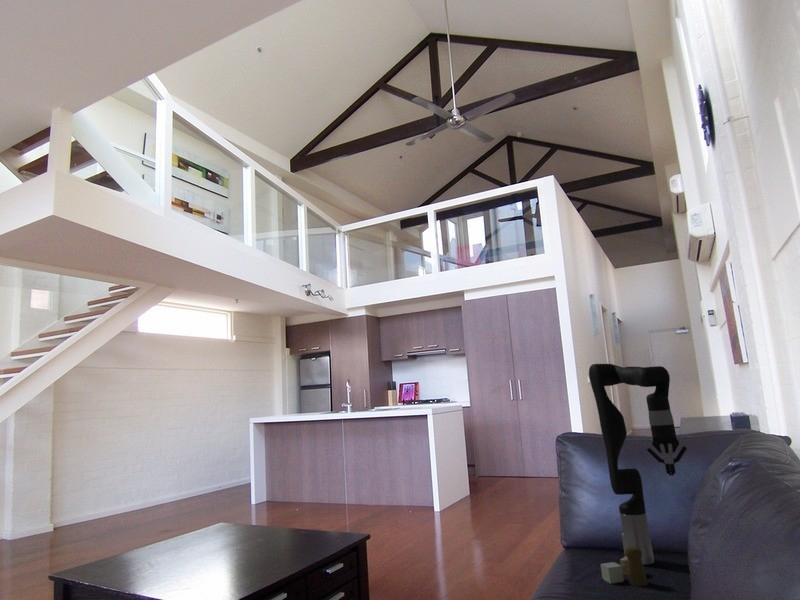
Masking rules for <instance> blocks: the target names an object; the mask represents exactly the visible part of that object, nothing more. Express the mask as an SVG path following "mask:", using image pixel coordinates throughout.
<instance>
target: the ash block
mask: <svg viewBox="0 0 800 600" xmlns="http://www.w3.org/2000/svg"><path fill="white" fill-rule="evenodd" d="M619 563H620V565H621V566H622V571H623V574H625V575H624V576H627V575H628V558H627V557H626V556H625V555H624V557H622V558H621V559H619Z"/></svg>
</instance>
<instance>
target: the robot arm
mask: <svg viewBox="0 0 800 600" xmlns="http://www.w3.org/2000/svg"><path fill="white" fill-rule="evenodd" d="M588 370H589V371H588V376H589V377H588V378H589V381H590V386H591V389H592V392H593V397H594V399H595V404H596V407H597V413H598V419H599V425H600V431H601V435H602V439H603V442H604V443H603V444H604V448H605V452H606V457H607V458H606V460H607V467H608V472H609V473H608V474H609V481H610V486H611V488H612V491H613V494H615V495H616V496H617V495H620V496H621V495H624V496H625V495H631V498H629V499H628V500H627V501H625V502H622V503H621V504H620V505H618V510H619V516H620V521H621V528H622V532H621V539H622V541H621V542H622V546H623V547H622V548H623V551H624V552H623V553H624V557H625V556H626V555H625V549H626V548H628V547H637V548H639V549H640V550H641V552H642V557H641V561H642V564H643V566H644V565H645V566H646V565H648V566H649V565H652V564H655V558H654V552H653V545H652V540H651V535H650V534H651V533H650V529H649V522H648V517H647V513H646V504H645V498H644V497H645V496H644V491H643V482H642V476H641V473H640V471H639V470H638V469H637V468H619V466H618V465H619V462H618V461H619V456H620V453H621V450H622V449H623V446H624V443H625V441H626V439H627V435H628V434H627V427H626V422H625V418H624V416H623V414H622V412H621V411H620V409H618V407H617V406H616V405H615V404H614V403H613V402H612V400H611V399H610V398H609V396H608V393H607V389H606V387H612V386H617V385H619V384H626V385H628V386H639V387H640V388H653V387H655V389H654V392H653V393H649V394H648V395H647V396H646V397H645V398H646V405H647V410H648V419H649V420H648V421H649V425H650V426H649V427H650V430H651V437H652V442H651V445H650V446H648V447H647V449H646V450H647V452H648V453H649V454H650V455H651V456H652V457H653V458H654V459H655V460H657V462H658V463H660V464H664V466H665V472H666V474H667V475H668V476H673V477H674V475H675V474H676V469H675V468H676V467H675V464H676V463H679V462H680V461H681V459H682V458H683V455H684V454H685V452H686V451H687V446H685V445H683V444H681V443H680V441H679V440H678V438H677V432H676V428H675V421H674V417H673V414H672V411H671V406H670V402H669V392H670V383H671V380H670V379H671V377H670V373H669V372H668V370H667V368H665V367H664V366H661V365H658V366H646V367H643V366H619V365H616V364H612V363H593V364H591V365H590V366H589V368H588ZM677 449H678V451H679V452H678V453H677V455H676V457H675V458H674V453H675V452H676V450H677ZM656 450H657V451H658V452H659V454H661V455H662V458H661V457H660V456H659V455H658V454H657V453H656ZM667 454H668V456H667ZM668 457H669V459H668Z"/></svg>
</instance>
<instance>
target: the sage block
mask: <svg viewBox="0 0 800 600" xmlns="http://www.w3.org/2000/svg"><path fill="white" fill-rule="evenodd" d="M600 571H601V578H602V580H603V579H604V580H603V581H604V582H606V581H607V582H606V583H608V582H609V583H608V584H610V585H611V583H612V584H617V583H618V582H619V583H624V582H625V577H624V575H623V571H622V566H621V564H618V563H617V562H614V561H613V562H612V561H611V562H605V563H600ZM623 581H624V582H623Z"/></svg>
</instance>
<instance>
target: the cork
mask: <svg viewBox="0 0 800 600" xmlns="http://www.w3.org/2000/svg"><path fill="white" fill-rule="evenodd" d="M625 555H626V557H627V558H628V576H627V577H628V584H629V585H630V584H631V586H633V585H634V586H633V587H646V586H648V585H649V581H648V577H647V574H646V572H645V568H644V565H643V564H642V561H641V557H642V552H641V550H640V549H639V548H637V547H628V548H626V549H625V554H624V556H625Z"/></svg>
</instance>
